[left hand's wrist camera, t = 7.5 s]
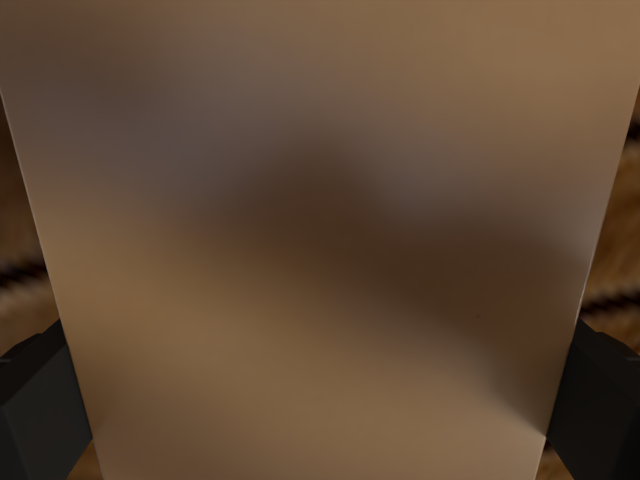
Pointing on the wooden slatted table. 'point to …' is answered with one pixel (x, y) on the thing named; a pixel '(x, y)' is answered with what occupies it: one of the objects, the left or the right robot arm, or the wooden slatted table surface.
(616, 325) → the wooden slatted table surface
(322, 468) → the cabinet
